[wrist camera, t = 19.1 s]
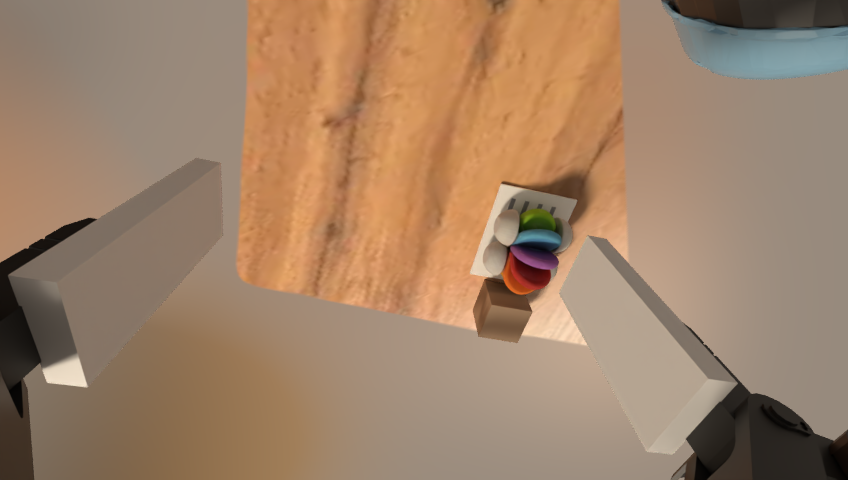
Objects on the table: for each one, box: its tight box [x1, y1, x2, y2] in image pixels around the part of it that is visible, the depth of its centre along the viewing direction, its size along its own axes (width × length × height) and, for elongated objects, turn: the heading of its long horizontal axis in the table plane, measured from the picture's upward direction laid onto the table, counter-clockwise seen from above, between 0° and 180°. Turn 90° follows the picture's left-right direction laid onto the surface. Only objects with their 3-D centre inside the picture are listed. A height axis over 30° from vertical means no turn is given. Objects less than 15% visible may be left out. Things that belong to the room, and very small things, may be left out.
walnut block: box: [473, 280, 532, 343], centre depth 47 cm, size 5×5×5 cm
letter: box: [470, 183, 578, 280], centre depth 45 cm, size 12×9×1 cm
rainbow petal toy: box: [483, 209, 573, 295], centre depth 41 cm, size 8×10×7 cm
